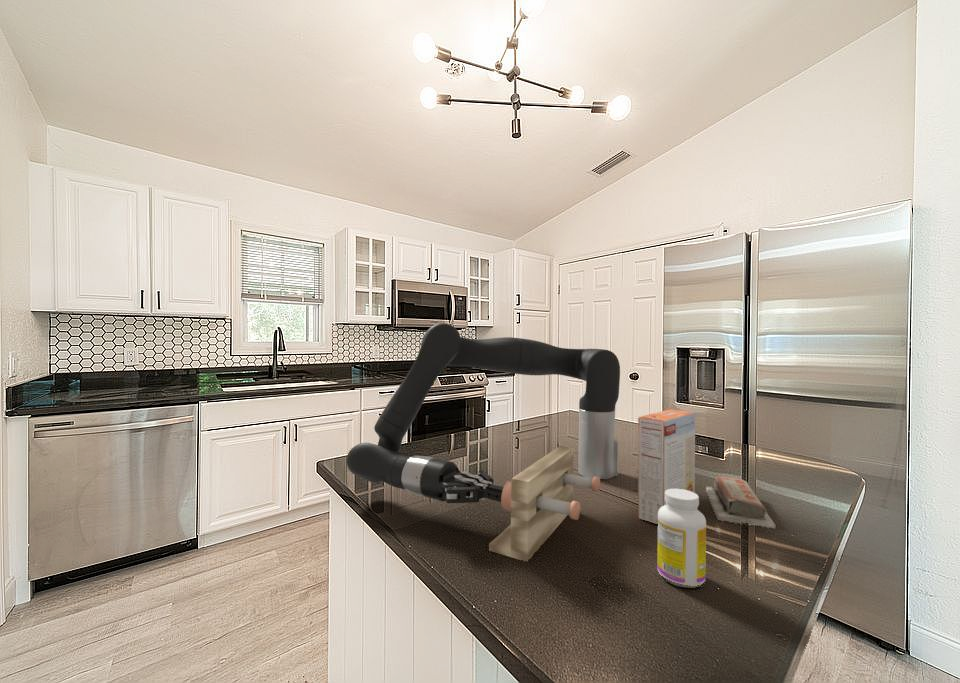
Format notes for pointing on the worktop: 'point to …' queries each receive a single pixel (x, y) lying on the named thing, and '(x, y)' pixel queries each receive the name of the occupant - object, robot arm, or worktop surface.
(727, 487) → the packaged product
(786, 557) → the worktop surface
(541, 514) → the knob panel
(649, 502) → the cracker box
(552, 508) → the knob
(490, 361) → the robot arm
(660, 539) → the supplement bottle
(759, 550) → the worktop surface
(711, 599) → the worktop surface
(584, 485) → the knob
